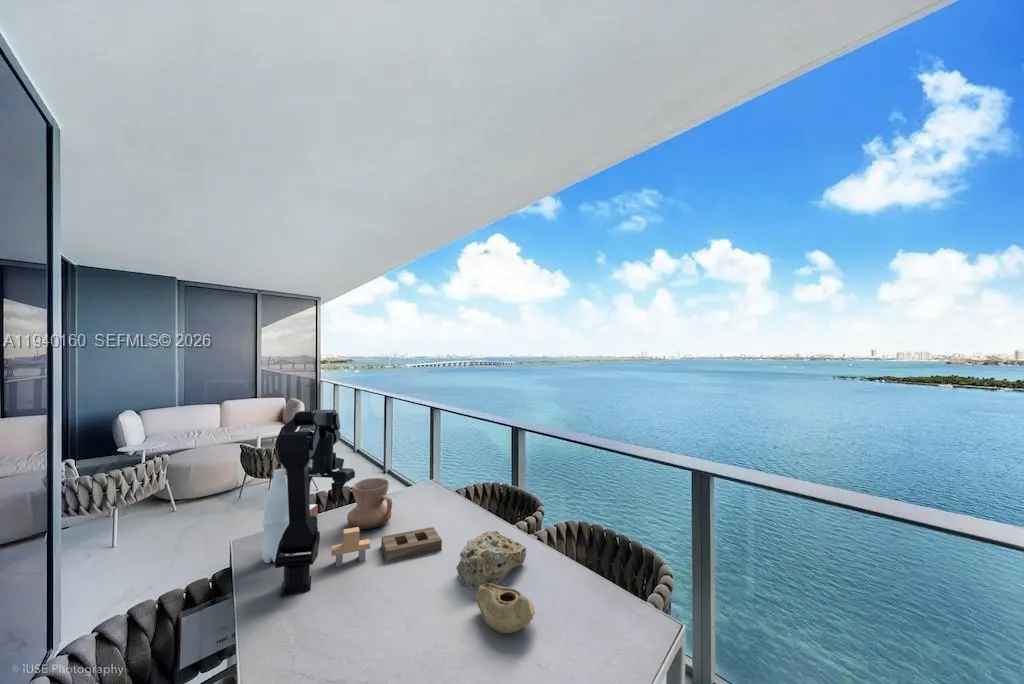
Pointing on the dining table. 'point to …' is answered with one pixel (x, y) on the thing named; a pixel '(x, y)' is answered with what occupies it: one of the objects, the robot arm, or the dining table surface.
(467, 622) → the dining table surface
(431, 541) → the brown slotted block
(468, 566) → the rock
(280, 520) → the water bottle
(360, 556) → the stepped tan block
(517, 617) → the oil lamp
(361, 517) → the ceramic jug
